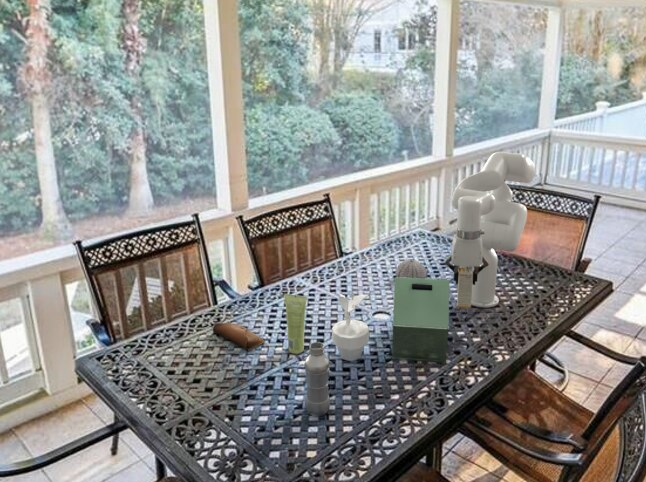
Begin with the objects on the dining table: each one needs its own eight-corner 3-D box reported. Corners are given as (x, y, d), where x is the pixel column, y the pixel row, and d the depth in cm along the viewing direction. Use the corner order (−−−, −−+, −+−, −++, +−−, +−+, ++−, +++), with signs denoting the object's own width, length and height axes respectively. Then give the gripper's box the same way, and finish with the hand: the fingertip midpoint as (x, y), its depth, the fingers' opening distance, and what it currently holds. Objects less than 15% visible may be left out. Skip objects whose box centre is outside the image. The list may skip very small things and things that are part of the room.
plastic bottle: (305, 404, 146) (303, 339, 140) (329, 403, 146) (329, 338, 141) (305, 420, 140) (303, 353, 134) (331, 418, 140) (330, 351, 134)
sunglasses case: (266, 340, 177) (258, 328, 173) (253, 357, 174) (244, 346, 169) (232, 323, 188) (223, 312, 184) (218, 339, 185) (209, 328, 180)
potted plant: (342, 370, 161) (342, 295, 154) (326, 351, 171) (325, 280, 164) (378, 359, 167) (380, 286, 160) (360, 342, 177) (360, 272, 169)
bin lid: (394, 277, 165) (394, 277, 160) (449, 279, 163) (450, 279, 158) (393, 324, 163) (392, 326, 158) (448, 327, 161) (449, 329, 156)
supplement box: (471, 309, 181) (473, 273, 177) (456, 308, 182) (458, 273, 178) (470, 297, 189) (472, 263, 185) (456, 296, 190) (458, 263, 186)
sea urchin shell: (389, 281, 222) (389, 263, 220) (403, 269, 233) (404, 252, 231) (418, 288, 216) (419, 269, 213) (432, 276, 227) (432, 258, 224)
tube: (302, 344, 176) (300, 289, 170) (308, 351, 171) (306, 296, 166) (286, 348, 173) (283, 293, 168) (291, 356, 169) (289, 300, 163)
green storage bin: (393, 337, 179) (394, 305, 176) (444, 340, 177) (445, 308, 174) (392, 359, 167) (393, 326, 163) (446, 363, 165) (448, 329, 161)
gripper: (492, 230, 180) (489, 279, 186) (441, 228, 182) (439, 277, 188) (496, 238, 173) (492, 288, 179) (442, 236, 175) (440, 286, 181)
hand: (465, 282), depth 183 cm, fingers closed on supplement box, 5 cm apart
